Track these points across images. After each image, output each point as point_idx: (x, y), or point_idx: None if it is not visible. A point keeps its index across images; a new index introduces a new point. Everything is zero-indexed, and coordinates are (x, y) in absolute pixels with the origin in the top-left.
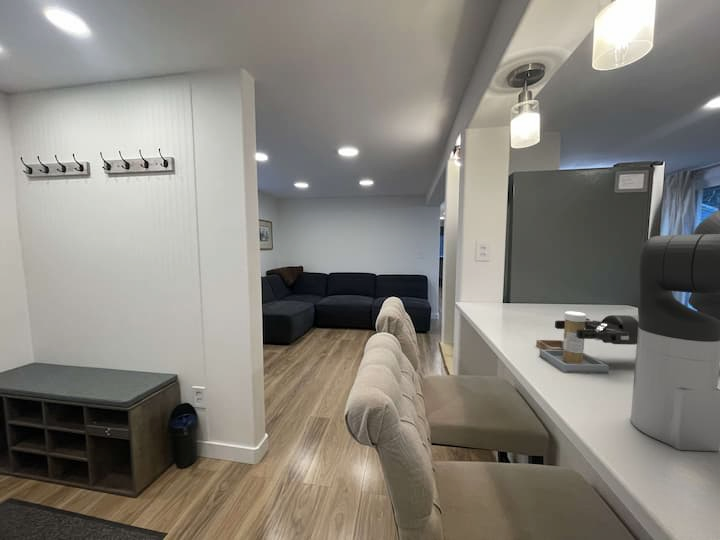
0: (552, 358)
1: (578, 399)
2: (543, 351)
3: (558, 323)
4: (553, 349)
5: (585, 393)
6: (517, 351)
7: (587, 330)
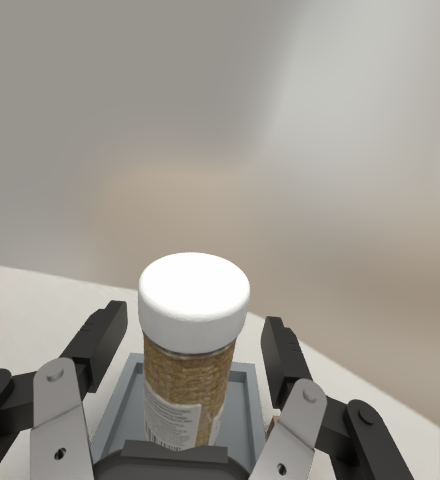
0: None
1: (30, 311)
2: (237, 364)
3: (266, 327)
4: (273, 424)
5: (31, 338)
6: None
7: (93, 327)
